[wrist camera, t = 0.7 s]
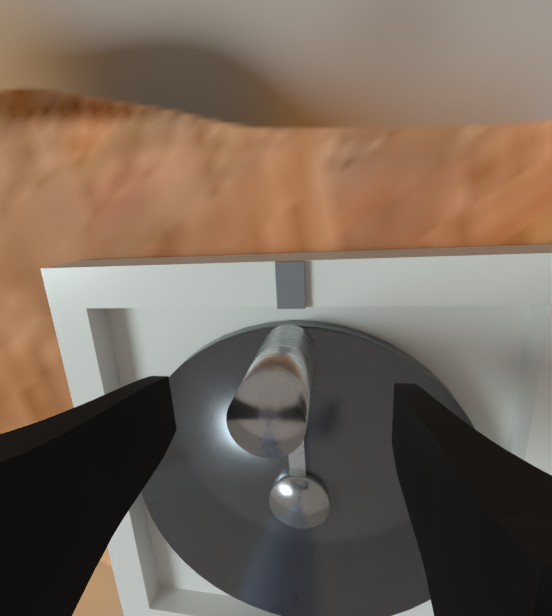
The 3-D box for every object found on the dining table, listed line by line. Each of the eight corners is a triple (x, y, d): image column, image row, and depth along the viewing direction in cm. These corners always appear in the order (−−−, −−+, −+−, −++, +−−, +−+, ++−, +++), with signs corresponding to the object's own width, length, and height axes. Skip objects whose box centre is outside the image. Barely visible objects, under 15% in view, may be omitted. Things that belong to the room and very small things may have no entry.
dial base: (502, 632, 21) (529, 700, 18) (148, 582, 25) (123, 631, 23) (571, 243, 15) (630, 251, 12) (81, 260, 19) (35, 269, 16)
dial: (469, 617, 19) (536, 820, 13) (174, 582, 23) (110, 731, 16) (499, 310, 15) (629, 390, 8) (119, 321, 18) (-3, 384, 11)
